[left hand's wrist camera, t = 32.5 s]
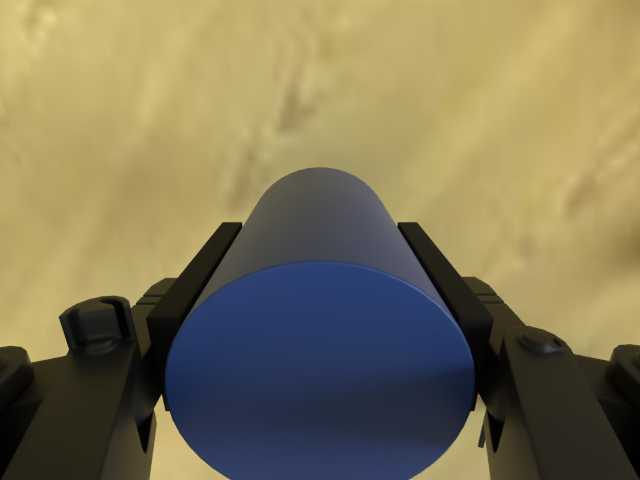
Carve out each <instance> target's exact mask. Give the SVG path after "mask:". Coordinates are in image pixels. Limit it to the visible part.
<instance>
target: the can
mask: <svg viewBox="0 0 640 480" xmlns="http://www.w3.org/2000/svg"><path fill="white" fill-rule="evenodd" d="M474 389H475V372H474V363H473V359H472V355H471V352H470V348H469V346H468V343H467V341H466V339H465V337H464V335H463V333H462V331H461V329H460V327H459V326H458V324H457V323H456V321H455V319H454V318H453V316H452V315H451V313H450V311H449V310H448V308H447V307H446V305H445V303H444V302H443V300H442V298H441V297H440V295H439V294H438V292H437V290H436V289H435V287H434V286H433V284H432V282H431V281H430V279H429V278H428V276H427V274H426V273H425V271H424V269H423V268H422V266H421V265H420V263H419V261H418V260H417V258H416V257H415V255H414V253H413V252H412V250H411V249H410V247H409V245H408V244H407V242H406V240H405V239H404V237H403V236H402V234H401V232H400V231H399V229H398V228H397V226H396V224H395V223H394V221H393V220H392V218H391V216H390V215H389V213H388V211H387V210H386V208H385V207H384V205H383V203H382V202H381V200H380V199H379V197H378V196H377V194H376V193H375V192H374V191H373V190H372V189H371V188H370V187H369V186H368V185H367V184H366V183H364V182H363V181H362V180H360V179H359V178H357V177H355V176H353V175H351V174H349V173H347V172H344V171H341V170H337V169H331V168H318V167H317V168H307V169H303V170H299V171H296V172H293V173H291V174H288V175H287V176H285V177H283V178H281V179H280V180H278V181H277V182H276V183H274V184H273V185H272V186H271V187H270V188H269V189H268V190H267V191H266V192H265V193H264V194H263V196H262V197H261V198H260V200H259V202H258V203H257V205H256V206H255V208H254V210H253V211H252V213H251V214H250V216H249V218H248V219H247V221H246V222H245V224H244V226H243V227H242V229H241V230H240V232H239V234H238V235H237V237H236V239H235V240H234V242H233V243H232V245H231V247H230V248H229V250H228V251H227V253H226V255H225V256H224V258H223V259H222V261H221V263H220V264H219V266H218V267H217V269H216V271H215V272H214V274H213V276H212V277H211V279H210V280H209V282H208V284H207V285H206V287H205V288H204V290H203V292H202V293H201V295H200V296H199V298H198V300H197V301H196V303H195V304H194V306H193V308H192V309H191V311H190V313H189V314H188V316H187V317H186V319H185V321H184V322H183V324H182V326H181V327H180V329H179V331H178V333H177V334H176V336H175V338H174V340H173V342H172V345H171V348H170V351H169V354H168V357H167V363H166V369H165V393H166V399H167V405H168V408H169V411H170V413H171V416H172V419H173V421H174V423H175V425H176V427H177V429H178V431H179V433H180V434H181V436H182V437H183V438H184V440H185V441H186V443H187V444H188V445H189V447H190V448H191V449H192V450H193V451H194V452H195V453H196V454H197V455H198V456H199V457H200V458H201V459H202V460H203V461H205V462H206V463H207V464H208V465H209V466H211V467H212V468H213V469H215V470H216V471H218V472H219V473H221V474H222V475H224V476H225V477H227V478H229V479H231V480H409V479H411V478H413V477H414V476H416V475H418V474H419V473H421V472H422V471H424V470H425V469H426V468H428V467H429V466H430V465H432V464H433V463H434V462H435V461H436V460H438V459H439V458H440V457H441V456H442V455H443V454H444V453H445V452H446V451H447V450H448V448H449V447H450V446H451V445H452V444H453V442H454V441H455V440H456V438H457V437H458V435H459V433H460V432H461V430H462V429H463V427H464V425H465V423H466V420H467V418H468V416H469V413H470V410H471V406H472V402H473V398H474Z"/></svg>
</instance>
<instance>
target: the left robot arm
mask: <svg viewBox="0 0 640 480" xmlns="http://www.w3.org/2000/svg"><path fill="white" fill-rule="evenodd" d="M397 228H398V229H399V231H400V232H401V234H402V236H403V237H404V239H405V240H406V242H407V244H408V245H409V247H410V249H411V250H412V252H413V253H414V255H415V257H416V258H417V260H418V261H419V263H420V265H421V266H422V268H423V269H424V271H425V273H426V274H427V276H428V278H429V279H430V281H431V282H432V284H433V286H434V287H435V289H436V290H437V292H438V294H439V295H440V297H441V298H442V300H443V302H444V303H445V305H446V307H447V308H448V310H449V311H450V313H451V315H452V316H453V318H454V319H455V321H456V323H457V324H458V326H459V327H460V329H461V331H462V333H463V335H464V337H465V339H466V341H467V343H468V346H469V348H470V352H471V355H472V359H473V363H474V372H475V389H474V398H473V402H472V406H471V410H470V411H474V410H475V405H476V401H477V396H478V393H479V395H480V397H481V398H482V400H483V402H484V404H485V406H486V412H485V416H484V420H483V425H482V429H481V433H480V438H479V444H478V447H481V448H483V446H484V442H485V440H486V447H487V455H488V462H489V470H490V477H491V480H640V346H639V345H632V344H627V345H619V346H618V347H616V348H615V349H614V350H613V353H612V355H611V358H610V361H606V360H601V359H596V358H591V357H585V356H580V355H576V354H573V352H572V350H571V349H570V348H569V346H568V345H567V344H566V343H565V342H564V341H563V340H561V339H560V338H558V337H557V336H556V335H554V334H552V333H549V332H547V331H545V330H542V329H539V328H535V327H531V326H526V325H525V324H524V323H523V322H522V321H521V320H520V319H519V317H518V316H517V315H516V314H515V313H514V312H513V311H512V310H511V309H510V308H509V307H508V306H507V304H504V301H503V300H502V299H501V298H500V297H499V296H497V294H496V293H495V291H494V290H493V289H492V288H491V287H490V286H489V285H488V284H486V283H484V282H483V281H481V280H479V279H477V278H476V277H461V276H460V275H459V274H458V272H457V271H456V270H455V269H454V267H453V266H452V265H451V264H450V262H449V261H448V260H447V259H446V257H445V256H444V255H443V254H442V253H441V251H440V250H439V249H438V248H437V246H436V245H435V244H434V243H433V241H432V240H431V239H430V238H429V237H428V235H427V234H426V233H425V232H424V230H423V229H422V228H421V227H420V225H419V224H418V223H417V222H398V226H397ZM241 229H242V222H223V223H222V224H221V225H220V226H219V228H218V229H217V230H216V231H215V233H214V234H213V235H212V236H211V237H210V239H209V240H208V241H207V242H206V244H205V245H204V246H203V247H202V249H201V250H200V251H199V252H198V253H197V255H196V256H195V257H194V258H193V260H192V261H191V262H190V263H189V265H188V266H187V267H186V268H185V270H184V271H183V272H182V273H181V274H180V276H179V277H178V278H165V279H163V280H161V281H159V282H158V283H156V284H154V285H153V286H151V287H150V288H149V289H148V291H147V292H146V293H145V294H144V295H143V297H141V298H140V299H139V300H138V301H137V303H136V305H134V306H133V307H132V308H130V303H129V301H128V300H127V299H125V298H124V297H119V296H102V297H97V298H93V299H89V300H86V301H83V302H81V303H78V304H76V305H74V306H72V307H70V308H69V309H67V310H65V311H64V312H63V313H62V314H61V315H60V316H59V319H60V322H61V326H62V329H63V332H64V335H65V338H66V341H67V344H68V347H69V351H68V353H67V355H66V356H63V357H58V358H53V359H48V360H43V361H37V362H32V363H31V361H30V359H29V356H28V353H27V351H26V350H25V349H23V348H22V347H16V346H6V347H0V480H149V479H150V471H151V463H152V456H153V448H154V440H155V433H156V425H157V423H156V416H155V412H154V407H155V405H156V403H157V402H158V400H159V398H160V396H161V394H162V397H163V402H164V406H165V411H169V408H168V405H167V399H166V393H165V369H166V363H167V357H168V354H169V351H170V348H171V345H172V342H173V340H174V338H175V336H176V334H177V333H178V331H179V329H180V327H181V326H182V324H183V322H184V321H185V319H186V317H187V316H188V314H189V313H190V311H191V309H192V308H193V306H194V304H195V303H196V301H197V300H198V298H199V296H200V295H201V293H202V292H203V290H204V288H205V287H206V285H207V284H208V282H209V280H210V279H211V277H212V276H213V274H214V272H215V271H216V269H217V267H218V266H219V264H220V263H221V261H222V259H223V258H224V256H225V255H226V253H227V251H228V250H229V248H230V247H231V245H232V243H233V242H234V240H235V239H236V237H237V235H238V234H239V232H240V230H241Z"/></svg>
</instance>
